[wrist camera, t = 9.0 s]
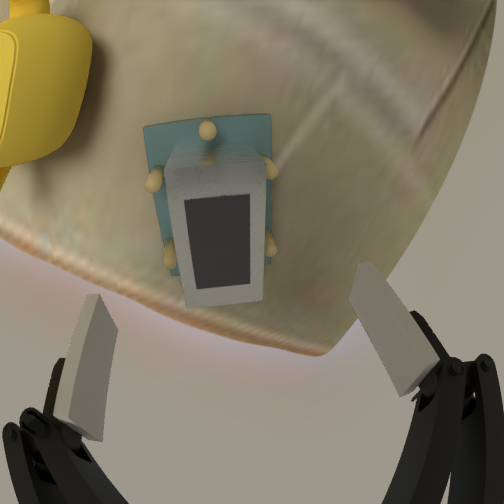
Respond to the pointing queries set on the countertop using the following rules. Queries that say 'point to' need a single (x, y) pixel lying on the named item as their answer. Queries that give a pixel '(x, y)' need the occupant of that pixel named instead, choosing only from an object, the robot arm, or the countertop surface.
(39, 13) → the teapot
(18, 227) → the countertop surface
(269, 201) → the pegboard
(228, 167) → the grey box
